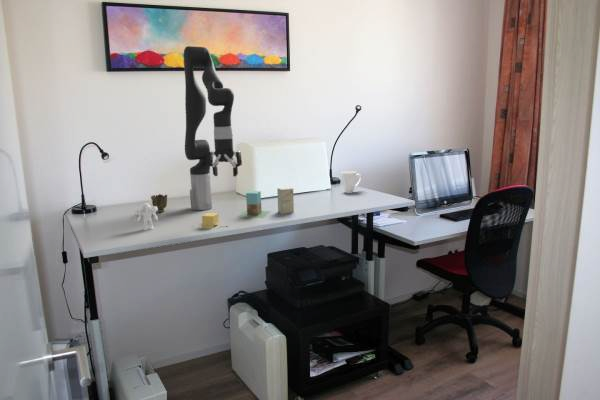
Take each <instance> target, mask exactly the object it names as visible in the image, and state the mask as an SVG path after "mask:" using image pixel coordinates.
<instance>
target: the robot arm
mask: <svg viewBox="0 0 600 400" xmlns="http://www.w3.org/2000/svg"><path fill="white" fill-rule="evenodd" d="M183 67H184V70H183V71H184V79H185V80H184V83H185V96H184V97H185V98H184V99H185V102H184V103H185V136H184V137H185V139H184V154H185V155H184V156H186V157H185V158H187V160H189V161H196V160H198V162H197V163H196V164H195V165H193V166H191V167H190V168H189V176H190V187H191V188H190V189H189V197H190V198H189V199H190V209H191V210H194V211H207V210H211V209H213V201H212V200H213V199H212V187H211V174H210V173H211V172H210V170H211V168H212V174H213V175H212V176H213V177H217V176H218V174H219V173H218V170H219V169H218V165H219V163H229V164H230V165H232V167H233V168H232V173H233V174H232V175H233V177H237V176H238V175H239V171H238V167H240V166H242V164H243V162H242V161H243V160H242V152H241V151H240V150H239V151H234V142H233V141H234V139H233V137H234V136H233V129H232V109H233V105H234V101H235V100H234V99H235V94H234V92H233V90H232V88H228V87H224V84H223V81H222V80H221V78H220V76H219V75H218V73H217V71H216V68H215V64H214V61H213V59H212V56H211V52H210V51H209V49H208V48H207V47H204V46H191V45H190V46H188V45H187V46H185V47H184V49H183ZM194 69H204V71H203V72H202V76H201V79H202V84H203V85H204V88H206V92H207V99H206V96H205V94H204V92H203V89H201V87H200V86H199V84H198V82H197V80H196V78H195V73H194ZM207 101H208V103H209V105H211V106H214V107H221V106H222V107H223V108H222V110H220V111H216V112H214V114H213V117H212V118H213V139H214V140H213V141H214V142H213V143H214V151H212V150H211V148H210V144H209V141H208V140H207V139H196V135H197V130H198V128H199V126H200V125H201V123H202V121H203V120H204V117H206V112H207V107H206V106H207ZM214 156H215V157H216V158H215V160H214V158H213V157H214ZM234 156H235V158H236V160H235V159H234Z"/></svg>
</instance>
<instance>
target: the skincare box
mask: <svg viewBox="0 0 600 400" xmlns="http://www.w3.org/2000/svg"><path fill="white" fill-rule="evenodd" d="M294 206H295V204H294V188H293V187H291V186H290V187H289V186H288V187H280V188H279V187H277V212H278V213H279V214H281V215H284V214H290V213H294V212H295V211H294V210H295V209H294V208H295V207H294Z"/></svg>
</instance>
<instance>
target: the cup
mask: <svg viewBox="0 0 600 400" xmlns="http://www.w3.org/2000/svg"><path fill="white" fill-rule="evenodd" d="M150 199H151V200H153V201H151V203H152V208H153V207H154V206H156V207H157V208H158V211H156V213H164V212H165V208H166V207H167V205H168V194H164V195H163V194H162V193H159V194H155V195H154V194H153V195H152V196H151V195H150Z"/></svg>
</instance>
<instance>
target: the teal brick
mask: <svg viewBox="0 0 600 400" xmlns="http://www.w3.org/2000/svg"><path fill="white" fill-rule="evenodd" d="M261 193H262V191H261V190H249V191H247V192H246V193H245V195H246V196H245V197H246V205H247V204H256V205H257V204H259V203H260V202H261V203H262V196H261Z"/></svg>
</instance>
